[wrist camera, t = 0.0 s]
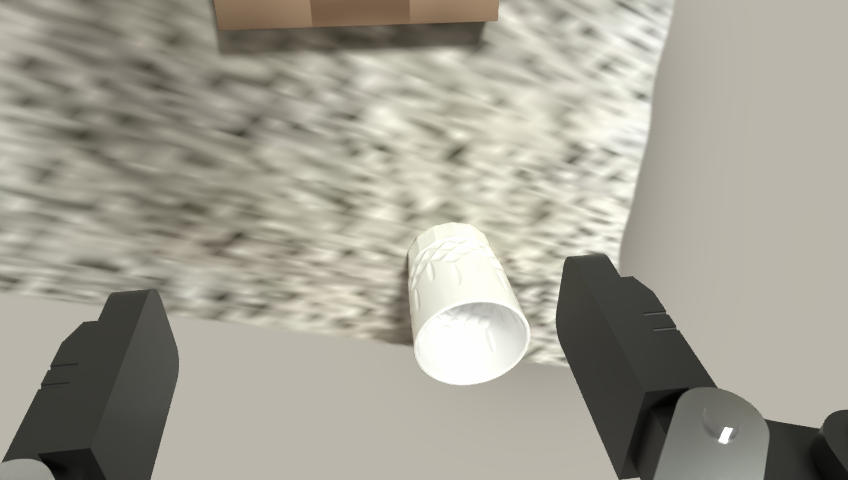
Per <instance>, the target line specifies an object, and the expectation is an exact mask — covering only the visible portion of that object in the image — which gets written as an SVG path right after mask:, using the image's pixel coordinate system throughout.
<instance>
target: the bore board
mask: <svg viewBox="0 0 848 480" xmlns="http://www.w3.org/2000/svg"><path fill="white" fill-rule="evenodd" d="M214 5H215V10H216V16H217V21H218V26H219V30H246V29H275V28H305V27H334V26H364V25H393V24H423V23H453V22H482V21H498V8H499V0H214Z"/></svg>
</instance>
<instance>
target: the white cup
mask: <svg viewBox="0 0 848 480" xmlns="http://www.w3.org/2000/svg"><path fill="white" fill-rule="evenodd" d="M408 273H409V279H408V288H409V304H410V315H411V325H412V335H413V347H414V355H415V359H416V361H417V363H418V365H419V367H420V368H421V369H422V370H423V371H424V372H425V373H426V374H427V375H428V376H430V377H431V378H433V379H435V380H438V381H440V382H443V383H447V384H454V385H472V384H479V383H483V382H486V381H489V380H492V379H495V378H497V377H499V376H501V375H503V374H504V373H506V372H507V371H509V370H510V369H512V368H513V367H514V366H515V365H516V364H517V363H518V362H519V361H520V360H521V359H522V357H523V356H524V354H525V352H526V351H527V348H528V346H529V342H530V328H529V325H528V322H527V320H526V318H525V316H524V314H523V311H522V309H521V307H520V305H519V303H518V300H517V298H516V296H515V294H514V292H513V290H512V288H511V285H510V283H509V281H508V279H507V277H506V274H505V272H504V270H503V268H502V267H501V265H500V263H499V260H498V259H497V258H496V257H495V255H494V253H493V252H492V249H491V247H490V245H489V243H488V241H487V239H486V237H485V235H484V234H483V233H482V232H480V231H479V230H477V229H476V228H474V227H473V226H471V225H468V224H462V223H455V222H449V223H445V224H441V225H436V226H433V227H431V228H430V229H428V230H427V231H425V232H424V233H422V234H421V235H419V236H418V237H417V238H416V240H415V242H414V243H413V245H412V247H411V248H410V250H409V252H408Z"/></svg>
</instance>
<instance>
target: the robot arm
mask: <svg viewBox="0 0 848 480" xmlns="http://www.w3.org/2000/svg"><path fill="white" fill-rule="evenodd" d="M556 328H557V334H558V339H559V342H560V344H561V347H562V349H563V351H564V354H565V356H566V358H567V361H568V363H569V365H570V367H571V370H572V372H573V375H574V377H575V379H576V382H577V384H578V386H579V389H580V391H581V393H582V395H583V398H584V400H585V402H586V405H587V407H588V409H589V411H590V414H591V416H592V419H593V421H594V423H595V425H596V428H597V430H598V433H599V435H600V437H601V439H602V442H603V444H604V446H605V449H606V451H607V453H608V456H609V458H610V460H611V463H612V465H613V467H614V470H615V472H616V474H617V477H618V479H619V480H621V479H630V478H638V477H640V479H641V480H848V410H840V411H837V412H834V413H832V414H831V415H829V416H828V417H827V418H826V419H825V421H824V423H823V425H822V426H821V428H820V429H818V428H811V427H806V426H800V425H794V424H788V423H782V422H776V421H771V420H766V419H764V418H763V416H762V415H761V413H760V412H759V411H758V410H757V409H756V408H755V407H754V406H753V405H752V404H750V403H749V402H748V401H746V400H745V399H743V398H742V397H740V396H738V395H736V394H734V393H732V392H729V391H726V390H723V389H719V388H718V387H717V386H716V385H715V383H714V382H713V380H712V379H711V377H710V376H709V374H708V373H707V371H706V370H705V368H704V367H703V365H702V364H701V362H700V361H699V360H698V358H697V356H696V355H695V354H694V352H693V350H692V349H691V347H690V346H689V344H688V343H687V341H686V340H685V338H684V337H683V335H682V334H681V333H680V331H679V330H677V329H676V325H675V324H674V322H673V321H672V319H671V318H670V316H669V315H666V310H665V309H664V307H663V306H662V304H661V303H660V301H659V300H658V298H657V297H656V295H655V294H654V293H653V291H651V290H650V289H649V288H647V287H646V286H645V285H643V284H642V283H641V282H639V281H638V280H637V279H635V278H634V277H633V276H632V277H620V275H619V274H618V272H617V270H616V269H615V267H614V266H613V264H612V262H611V261H610V259H609V258H608V256H606V255H605V254H595V255H583V256H571V257H567V258H566V260H565V262H564V267H563V273H562V279H561V285H560V292H559V298H558V304H557V311H556ZM50 366H51V370H48V371H47V373H46V376H45V377H44V379H43V382H42V383H41V389H39V390H38V391H37V393H36V395H35V397H34V399H33V401H32V403H31V405H30V407H29V409H28V411H27V413H26V415H25V417H24V419H23V421H22V423H21V425H20V427H19V429H18V431H17V433H16V435H15V437H14V439H13V441H12V443H11V445H10V447H9V449H8V451H7V453H6V455H5V457H4V459H3V461H2V463H0V480H150V479H151V475H152V472H153V468H154V464H155V460H156V457H157V453H158V449H159V446H160V442H161V438H162V434H163V430H164V427H165V423H166V419H167V415H168V412H169V408H170V404H171V401H172V397H173V393H174V390H175V386H176V382H177V378H178V371H179V357H178V350H177V346H176V343H175V340H174V337H173V333H172V330H171V327H170V325H169V321H168V319H167V315H166V312H165V309H164V306H163V303H162V300H161V298H160V295H159V293H158V292H157V291H156V290H155V289H150V290H138V291H125V292H114V293H112V294H111V295H110V296H109V297H108V299H107V302H106V304H105V306H104V308H103V310H102V313H101V315H100V317H99V319H98V321H90V322H83V323H82V324H81V325H80V326H79V327H78V328H77V329H76V330H75V331H74V332H73V333H72V334H71V335H70V336H69V337H67V339H65V341H63V342H62V344H61V346H60V348H59V350H58V352H57V354H56V356H55V358H54V360H53V362H52V363H51V365H50Z"/></svg>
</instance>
